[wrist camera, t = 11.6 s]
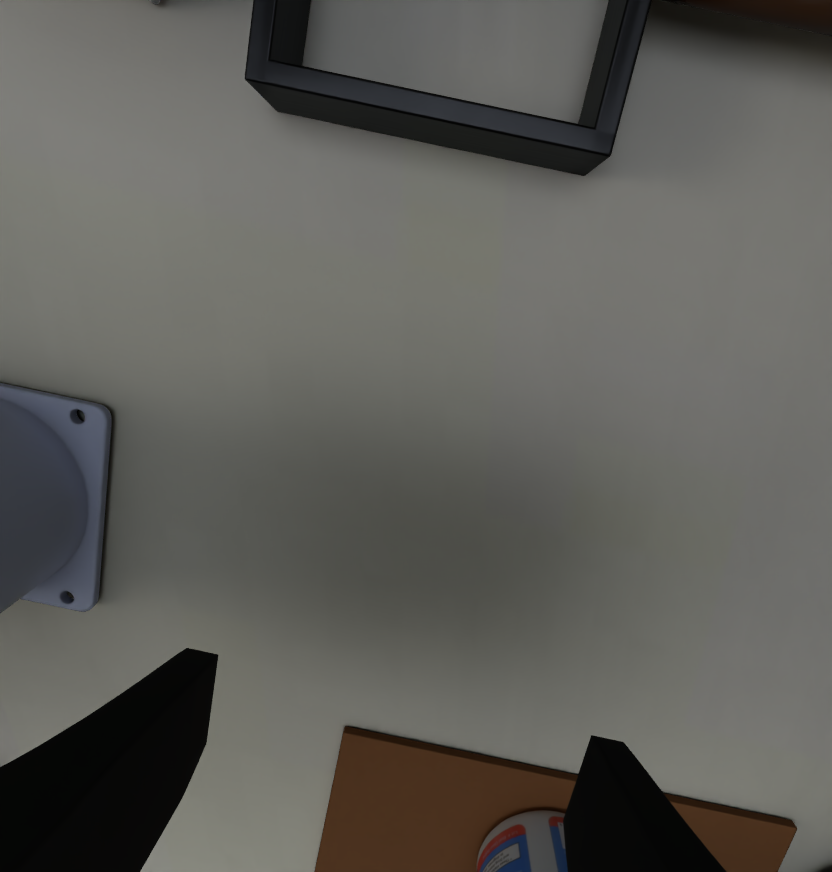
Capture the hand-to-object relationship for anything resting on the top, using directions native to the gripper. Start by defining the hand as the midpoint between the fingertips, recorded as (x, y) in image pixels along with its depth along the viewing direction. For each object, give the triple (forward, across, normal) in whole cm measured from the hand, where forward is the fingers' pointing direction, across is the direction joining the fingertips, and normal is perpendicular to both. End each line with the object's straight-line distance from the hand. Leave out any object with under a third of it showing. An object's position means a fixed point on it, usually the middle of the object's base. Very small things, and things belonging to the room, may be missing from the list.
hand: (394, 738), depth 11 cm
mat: (+10, -8, +13) cm, 18 cm away
